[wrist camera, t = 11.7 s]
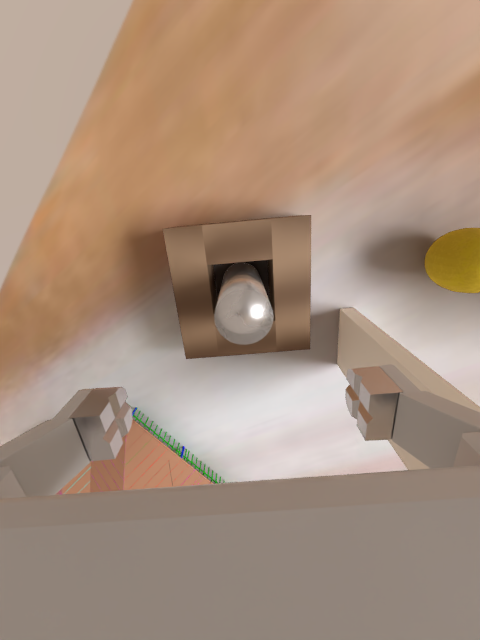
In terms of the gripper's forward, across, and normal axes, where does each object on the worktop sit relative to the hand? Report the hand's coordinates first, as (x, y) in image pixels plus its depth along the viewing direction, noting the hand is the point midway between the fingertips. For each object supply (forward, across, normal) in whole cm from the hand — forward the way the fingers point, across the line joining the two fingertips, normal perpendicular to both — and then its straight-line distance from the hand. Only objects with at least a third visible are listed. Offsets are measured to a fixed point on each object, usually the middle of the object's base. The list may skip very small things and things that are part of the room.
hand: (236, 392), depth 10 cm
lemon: (+20, -20, 0) cm, 29 cm away
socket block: (+20, 0, +1) cm, 20 cm away
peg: (+20, 0, +1) cm, 20 cm away
